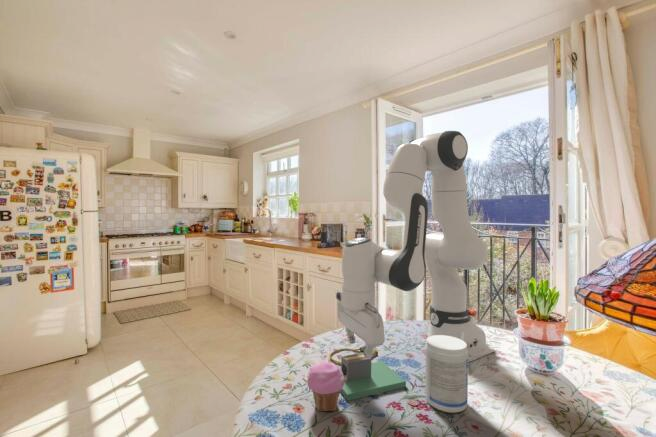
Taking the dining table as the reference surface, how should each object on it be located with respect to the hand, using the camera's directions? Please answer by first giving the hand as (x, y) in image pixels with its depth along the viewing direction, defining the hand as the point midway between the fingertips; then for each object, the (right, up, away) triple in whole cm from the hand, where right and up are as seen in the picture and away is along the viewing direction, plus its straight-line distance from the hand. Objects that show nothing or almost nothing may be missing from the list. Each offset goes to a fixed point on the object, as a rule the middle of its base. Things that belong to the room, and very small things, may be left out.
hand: (359, 349), depth 85 cm
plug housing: (-1, -7, 0) cm, 7 cm away
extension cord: (0, -9, +14) cm, 17 cm away
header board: (+2, -9, 0) cm, 9 cm away
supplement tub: (+20, -9, -9) cm, 24 cm away
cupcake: (-9, -9, -11) cm, 17 cm away
